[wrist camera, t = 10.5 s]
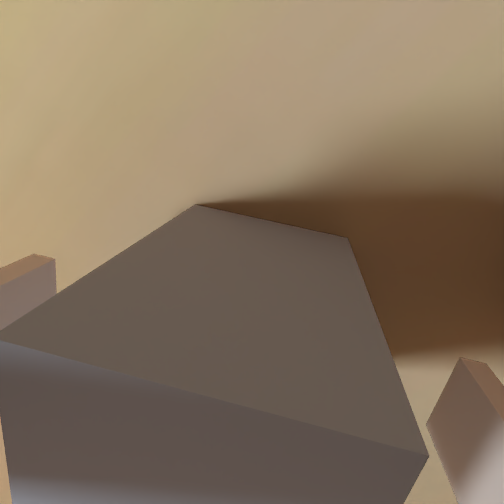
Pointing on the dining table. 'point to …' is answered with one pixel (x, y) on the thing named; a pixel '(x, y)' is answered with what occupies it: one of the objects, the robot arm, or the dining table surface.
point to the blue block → (209, 376)
